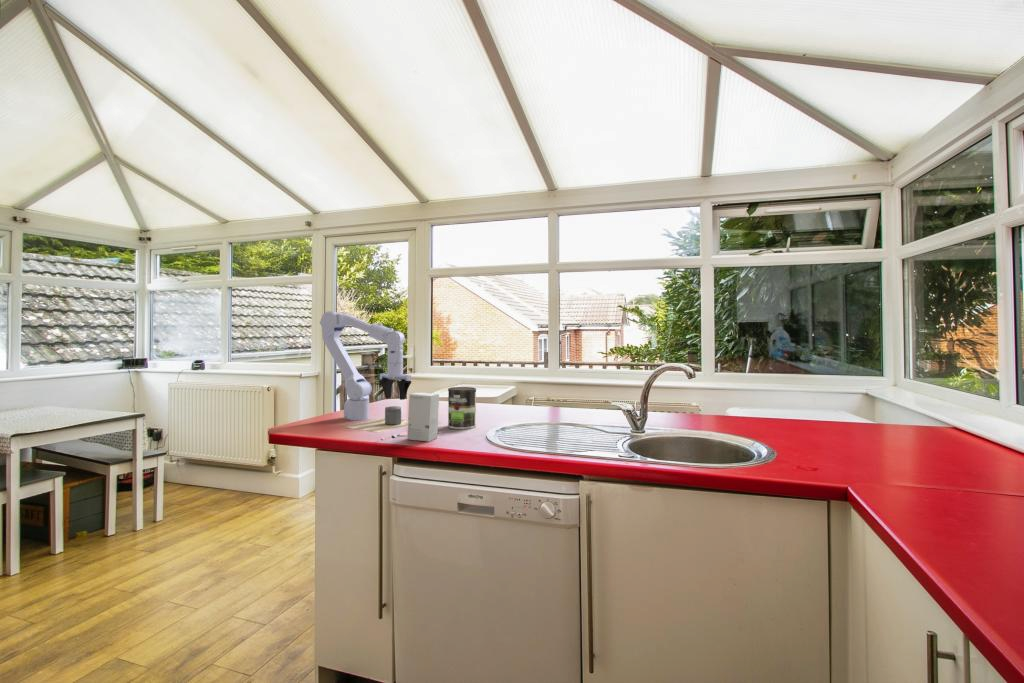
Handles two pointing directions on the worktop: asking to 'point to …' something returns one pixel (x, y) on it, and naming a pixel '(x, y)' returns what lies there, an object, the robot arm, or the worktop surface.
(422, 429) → the skincare box
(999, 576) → the worktop surface
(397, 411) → the cap
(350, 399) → the robot arm
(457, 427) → the coffee can
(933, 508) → the worktop surface
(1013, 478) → the worktop surface
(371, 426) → the beige cloth
